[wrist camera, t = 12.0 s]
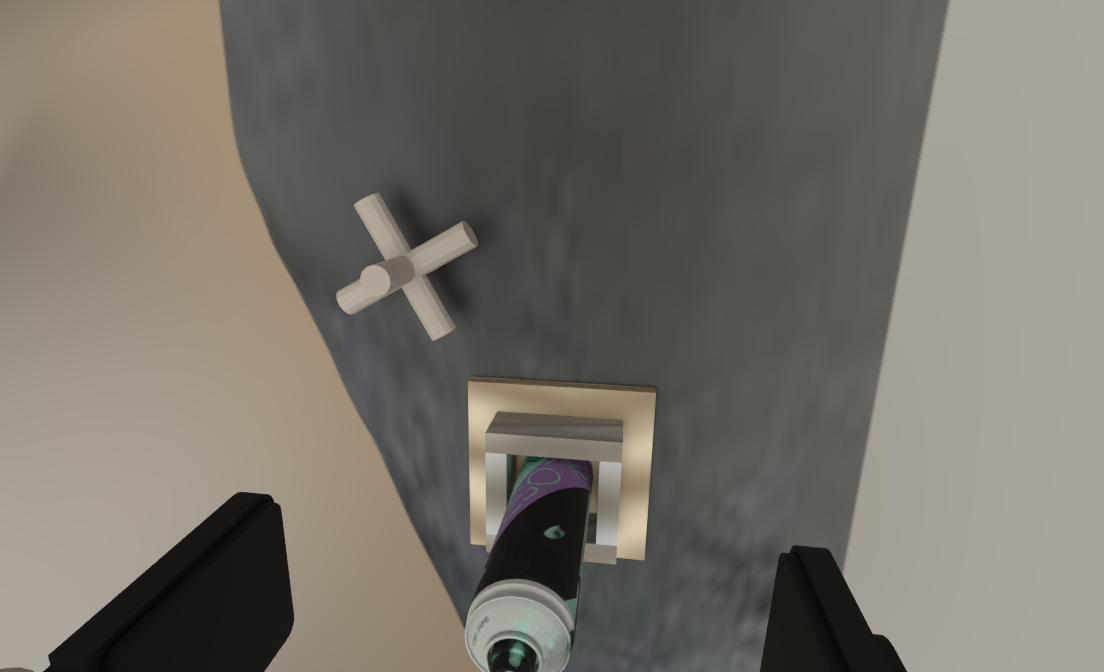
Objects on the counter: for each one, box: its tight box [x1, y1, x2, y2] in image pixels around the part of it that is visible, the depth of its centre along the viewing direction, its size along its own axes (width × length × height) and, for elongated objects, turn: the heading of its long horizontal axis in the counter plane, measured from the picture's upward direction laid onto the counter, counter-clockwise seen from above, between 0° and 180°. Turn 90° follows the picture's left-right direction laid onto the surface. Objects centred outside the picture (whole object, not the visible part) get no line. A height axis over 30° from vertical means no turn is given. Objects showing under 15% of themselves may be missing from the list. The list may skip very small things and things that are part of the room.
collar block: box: [468, 376, 656, 564], centre depth 44 cm, size 14×14×5 cm
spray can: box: [465, 456, 593, 672], centre depth 36 cm, size 6×6×20 cm
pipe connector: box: [337, 193, 478, 341], centre depth 39 cm, size 10×10×10 cm
